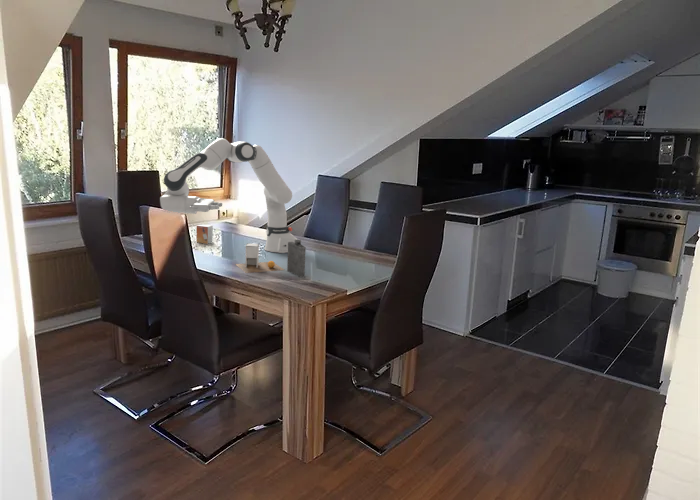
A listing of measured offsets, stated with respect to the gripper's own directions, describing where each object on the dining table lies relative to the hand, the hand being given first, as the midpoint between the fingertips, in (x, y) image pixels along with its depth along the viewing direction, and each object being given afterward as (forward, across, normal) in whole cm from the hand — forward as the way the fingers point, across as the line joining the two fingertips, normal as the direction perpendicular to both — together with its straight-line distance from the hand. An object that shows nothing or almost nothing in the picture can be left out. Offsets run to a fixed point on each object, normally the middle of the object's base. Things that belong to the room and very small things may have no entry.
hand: (220, 206), depth 276 cm
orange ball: (+27, -11, +27) cm, 39 cm away
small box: (-17, +50, +30) cm, 61 cm away
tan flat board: (+21, -10, +30) cm, 38 cm away
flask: (+40, -20, +30) cm, 54 cm away
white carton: (+17, -8, +29) cm, 34 cm away
